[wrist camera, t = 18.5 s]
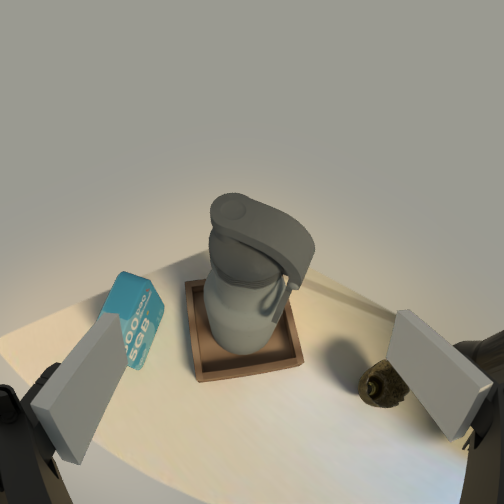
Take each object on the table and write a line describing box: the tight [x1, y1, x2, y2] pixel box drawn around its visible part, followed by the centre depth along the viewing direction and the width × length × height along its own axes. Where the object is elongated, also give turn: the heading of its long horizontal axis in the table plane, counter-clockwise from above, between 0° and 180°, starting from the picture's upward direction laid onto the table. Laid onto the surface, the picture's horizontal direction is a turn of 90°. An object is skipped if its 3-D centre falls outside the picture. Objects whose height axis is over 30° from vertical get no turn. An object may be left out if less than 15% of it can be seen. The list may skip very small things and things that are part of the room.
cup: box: [358, 360, 410, 408], centre depth 39 cm, size 8×7×8 cm
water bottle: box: [204, 193, 315, 355], centre depth 34 cm, size 10×10×28 cm
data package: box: [97, 271, 164, 370], centre depth 40 cm, size 12×4×12 cm, turn 165°
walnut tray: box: [185, 275, 304, 383], centre depth 45 cm, size 16×16×4 cm
